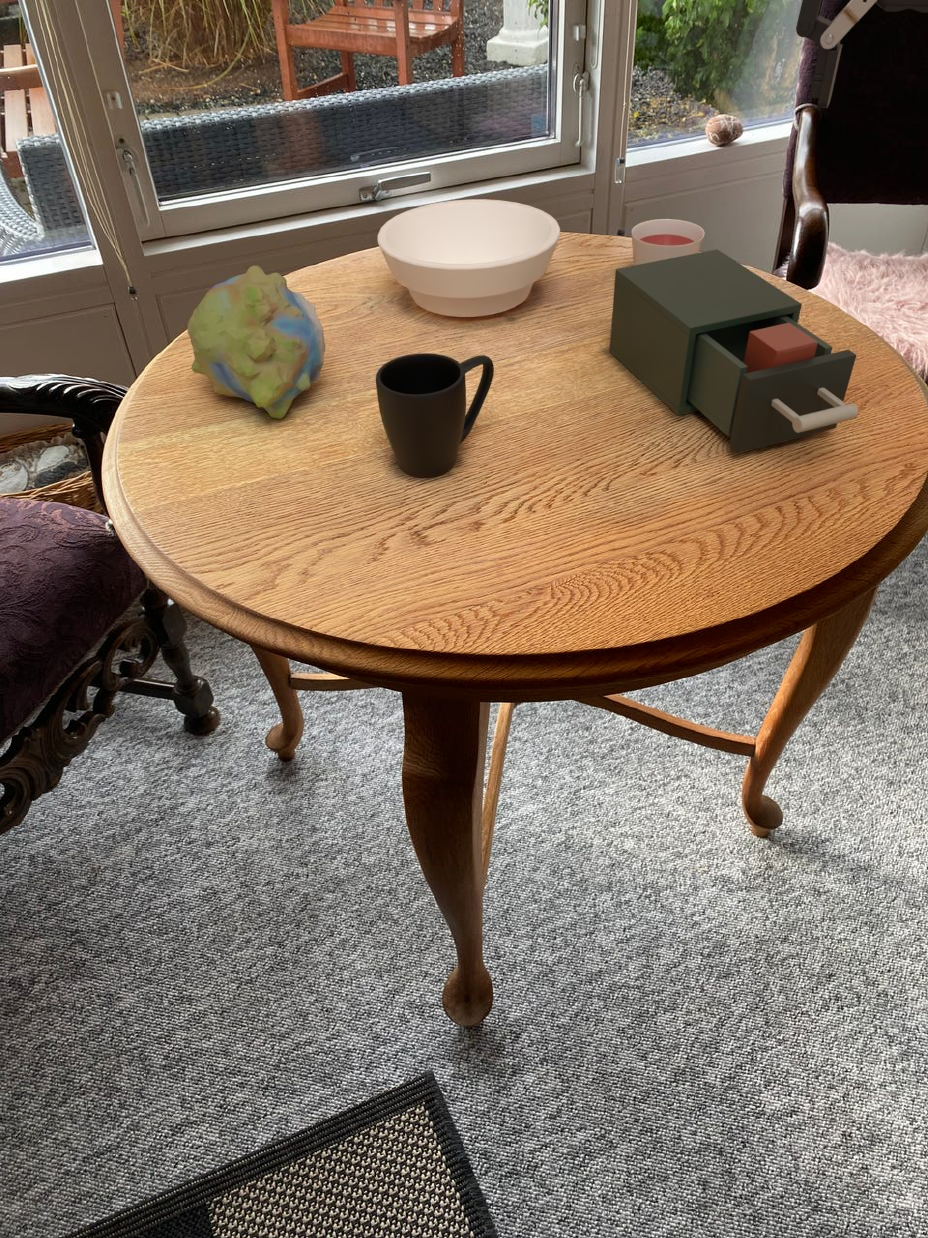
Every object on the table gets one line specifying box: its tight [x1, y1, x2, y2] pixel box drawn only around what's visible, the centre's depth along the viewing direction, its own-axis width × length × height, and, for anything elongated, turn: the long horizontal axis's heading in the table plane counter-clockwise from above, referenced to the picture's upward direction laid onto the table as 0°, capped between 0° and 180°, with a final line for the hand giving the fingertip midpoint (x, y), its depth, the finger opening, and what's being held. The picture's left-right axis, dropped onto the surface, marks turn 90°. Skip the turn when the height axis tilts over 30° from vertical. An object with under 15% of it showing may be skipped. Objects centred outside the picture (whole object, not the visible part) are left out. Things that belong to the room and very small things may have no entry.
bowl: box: [377, 198, 561, 318], centre depth 112 cm, size 22×22×8 cm
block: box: [744, 323, 818, 373], centre depth 85 cm, size 4×4×8 cm
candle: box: [630, 218, 706, 266], centre depth 114 cm, size 9×9×6 cm
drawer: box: [687, 315, 859, 455], centre depth 87 cm, size 19×11×8 cm, turn 20°
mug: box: [375, 352, 495, 479], centre depth 85 cm, size 8×12×10 cm
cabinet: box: [608, 248, 803, 417], centre depth 96 cm, size 16×13×10 cm
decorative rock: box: [186, 264, 327, 419], centre depth 93 cm, size 14×16×15 cm
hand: (884, 109), depth 65 cm, fingers open, 8 cm apart
